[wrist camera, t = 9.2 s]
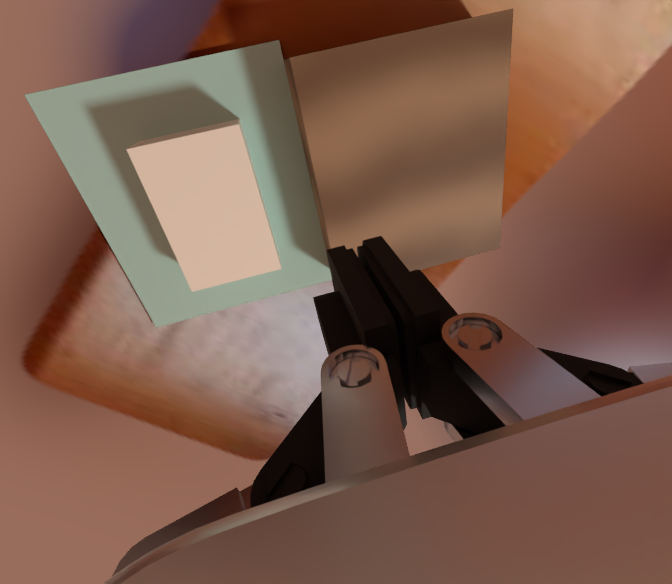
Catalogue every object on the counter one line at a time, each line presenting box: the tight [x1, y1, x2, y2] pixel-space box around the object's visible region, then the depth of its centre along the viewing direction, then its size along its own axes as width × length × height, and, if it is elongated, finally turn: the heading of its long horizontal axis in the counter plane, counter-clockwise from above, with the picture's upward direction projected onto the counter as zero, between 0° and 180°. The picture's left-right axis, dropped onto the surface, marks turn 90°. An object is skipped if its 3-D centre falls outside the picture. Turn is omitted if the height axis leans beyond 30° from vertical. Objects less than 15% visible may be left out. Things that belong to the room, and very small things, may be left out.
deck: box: [284, 9, 513, 271], centre depth 24 cm, size 14×12×4 cm
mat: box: [25, 40, 332, 328], centre depth 25 cm, size 16×14×1 cm
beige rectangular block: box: [126, 119, 282, 292], centre depth 23 cm, size 9×6×3 cm, turn 10°
